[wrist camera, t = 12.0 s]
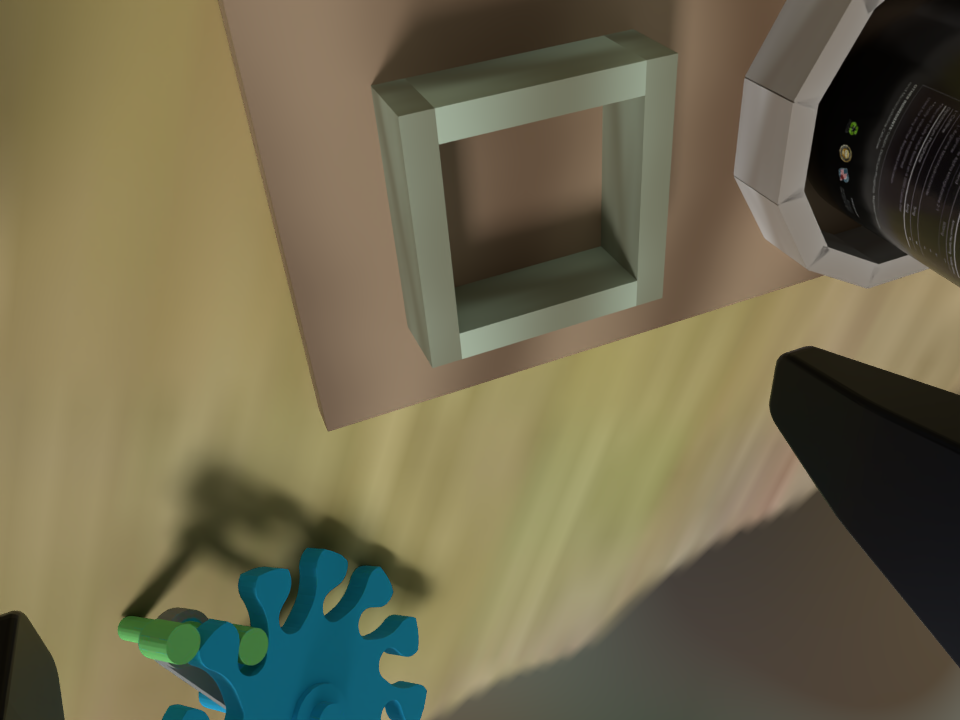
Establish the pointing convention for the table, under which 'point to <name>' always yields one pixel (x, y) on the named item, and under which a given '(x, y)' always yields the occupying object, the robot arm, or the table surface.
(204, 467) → the table surface
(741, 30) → the socket board
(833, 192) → the supplement bottle
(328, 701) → the gear
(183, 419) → the table surface
